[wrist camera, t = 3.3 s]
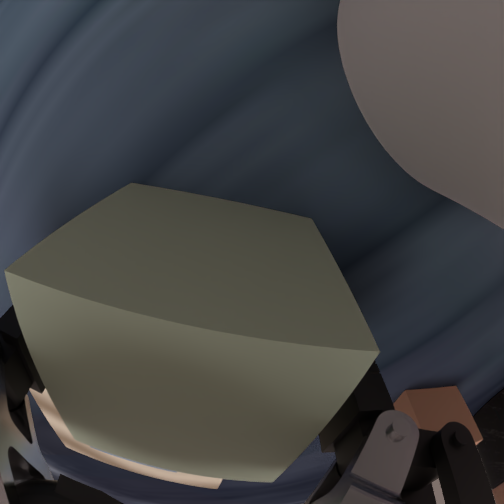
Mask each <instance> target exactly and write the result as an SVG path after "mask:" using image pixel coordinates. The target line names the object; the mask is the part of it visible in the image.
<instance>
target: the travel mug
mask: <svg viewBox="0 0 504 504" xmlns="http://www.w3.org/2000/svg"><path fill="white" fill-rule="evenodd" d="M473 419H474V421H475V423H476V425H477V427H478V429H479V431H480V433H481V435H482V437H483V440H482V441H481V442H479V443H478V444H477V445H476V446H477V449H478V451H479V454H480V456H481V459H482V462H483V465H484V468H485V471H486V474H487V477H488V480H489V483H490V486H491V488H492V492H493V495H494V498H495V501H496V504H504V389H503V390H502V391H501V392H499V393H498V394H497V395H496V396H494V397H493V398H492V399H491V400H490V401H489V402H488V403H486V404H485V405H484V406H483V407H482V408H481V409H480V410H479V411H478V412H477V413H476V415H475V416H474V417H473Z"/></svg>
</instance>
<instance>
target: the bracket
mask: <svg viewBox="0 0 504 504" xmlns="http://www.w3.org/2000/svg"><path fill="white" fill-rule="evenodd" d="M337 36H338V44H339V51H340V56H341V60H342V65H343V68H344V71H345V75H346V78H347V81H348V84H349V86H350V89H351V91H352V94H353V96H354V98H355V101H356V103H357V105H358V107H359V109H360V111H361V113H362V115H363V117H364V118H365V120H366V122H367V124H368V125H369V127H370V129H371V130H372V132H373V133H374V135H375V137H376V138H377V139H378V141H379V142H380V143H381V145H382V146H383V148H384V149H385V150H386V151H387V152H388V154H389V155H390V156H391V157H392V158H393V159H394V161H395V162H396V163H397V164H398V165H399V166H400V167H401V168H402V169H403V170H405V171H406V172H407V173H408V174H409V175H410V176H412V177H413V178H414V179H415V180H417V181H418V182H420V183H421V184H423V185H424V186H426V187H428V188H430V189H431V190H433V191H435V192H437V193H439V194H441V195H443V196H445V197H447V198H449V199H451V200H453V201H455V202H457V203H459V204H461V205H463V206H464V207H466V208H468V209H470V210H472V211H473V212H475V213H477V214H479V215H480V216H482V217H484V218H486V219H487V220H489V221H491V222H492V223H494V224H496V225H497V226H499V227H501V228H502V229H504V0H340V4H339V9H338V18H337Z"/></svg>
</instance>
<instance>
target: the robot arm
mask: <svg viewBox="0 0 504 504" xmlns="http://www.w3.org/2000/svg"><path fill="white" fill-rule="evenodd" d="M375 362H376V361H375V360H374V362H373V363H372V365H371V366H370V368H369V369H368V371H367V372H366V373H365V375H364V376H363V378H362V379H361V381H360V382H359V383H358V385H357V386H356V388H355V389H354V390H353V392H352V393H351V394H350V396H349V397H348V398H347V400H346V401H345V402H344V404H343V405H342V406H341V407H340V409H339V410H338V411H337V413H336V414H335V415H334V416H333V418H332V419H331V420H330V421H329V422H328V424H327V425H326V426H325V427H324V428H323V430H322V431H321V432H320V433H319V438H320V444H321V450H322V453H323V452H335V454H336V459H335V460H334V461H333V463H332V464H331V466H330V467H329V469H328V470H327V472H326V473H325V475H324V476H323V478H322V479H321V481H320V482H319V484H318V485H317V487H316V488H315V489H314V491H313V492H312V494H311V495H310V496H309V498H308V499H307V500H306V502H305V503H304V504H436V500H435V496H434V491H433V487H432V484H431V483H432V482H433V481H435V480H436V479H438V478H439V480H440V484H441V488H442V492H443V496H444V500H445V504H496V503H495V500H494V496H493V493H492V489H491V486H490V483H489V480H488V477H487V474H486V471H485V468H484V465H483V462H482V460H481V457H480V454H479V452H478V449H477V447H476V444H475V442H474V439H473V437H472V434H471V433H470V431H469V430H468V429H467V427H465V426H464V425H463V424H461V423H459V422H449V423H447V424H446V425H444V426H443V427H442V428H441V429H440V430H439V431H438V432H437V431H430V430H424V429H419V428H418V427H417V425H416V423H415V422H414V420H413V419H412V418H411V417H410V416H408V415H407V414H405V413H403V412H401V411H397V410H395V408H394V405H393V403H392V400H391V398H390V395H389V393H388V390H387V388H386V385H385V383H384V380H383V378H382V375H381V374H379V372H380V371H379V368H378V366H377V364H375ZM30 388H31V389H33V390H35V391H37V392H39V393H41V394H42V393H43V391H44V390H45V386H44V384H43V382H42V380H41V378H40V375H39V373H38V371H37V369H36V366H35V364H34V362H33V359H32V357H31V355H30V352H29V350H28V347H27V344H26V342H25V339H24V336H23V334H22V331H21V328H20V325H19V322H18V319H17V316H16V313H15V309H14V306H13V305H12V306H11V307H10V308H9V310H8V311H7V312H6V313H5V314H4V315H3V316H2V317H1V318H0V504H123V503H121V502H119V501H118V500H116V499H114V498H112V497H111V496H109V495H107V494H106V493H104V492H102V491H100V490H97V489H95V488H92V487H89V486H87V485H84V484H82V483H80V482H77V481H75V480H73V479H70V478H68V477H66V476H64V475H62V474H60V476H59V479H58V481H57V480H54V479H53V477H52V474H51V471H50V469H49V467H48V465H47V463H46V461H45V459H44V457H43V456H42V454H41V452H40V449H39V446H38V442H37V438H36V434H35V429H34V425H33V420H32V415H31V410H30V404H29V399H28V396H27V393H28V391H29V389H30Z"/></svg>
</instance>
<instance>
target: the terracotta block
mask: <svg viewBox="0 0 504 504" xmlns="http://www.w3.org/2000/svg"><path fill="white" fill-rule="evenodd" d="M393 405H394V408H395V410H397V411H401V412H403V413H405V414H407V415H408V416H410V417H411V418H412V419H413V420H414V422H415V423H416V425H417V427H418V428H419V429H424V430H430V431H437V432H438V431H439V430H440V429H441V428H442V427H443V426H444V425H446V424H447V423H449V422H459V423H461V424H463V425H464V426H465V427H467V429H468V430H469V431H470V433H471V434H472V437H473V439H474V442H475V444H476V445H477V444H478V443H479V442H481V441H482V440H483V437H482V435H481V433H480V431H479V429H478V427H477V425H476V423H475V421H474V419H473V417H472V415H471V413H470V411H469V409H468V407H467V405H466V403H465V401H464V399H463V397H462V396H461V394H460V392H459V390H458V388H457V386H449V387H439V388H428V389H415V390H405V391H404V392H403V393H402V394H401V396H400V397H399V398H398V399H397V400H396V401H395V403H394V404H393Z"/></svg>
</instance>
